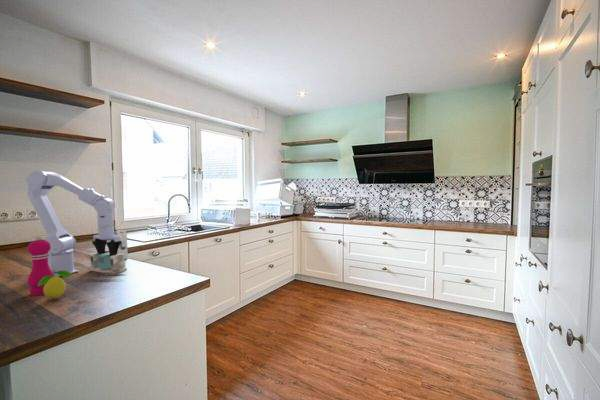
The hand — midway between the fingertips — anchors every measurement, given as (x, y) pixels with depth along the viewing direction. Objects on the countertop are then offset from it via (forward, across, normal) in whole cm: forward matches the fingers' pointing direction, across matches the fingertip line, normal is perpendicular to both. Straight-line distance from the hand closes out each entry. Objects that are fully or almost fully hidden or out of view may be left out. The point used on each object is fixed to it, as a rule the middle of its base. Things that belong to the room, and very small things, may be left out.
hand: (107, 256), depth 125 cm
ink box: (+6, +14, -15) cm, 22 cm away
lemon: (+6, -16, +28) cm, 32 cm away
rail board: (+6, 0, 0) cm, 6 cm away
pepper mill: (+6, -4, +26) cm, 27 cm away
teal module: (+5, 0, 0) cm, 5 cm away
